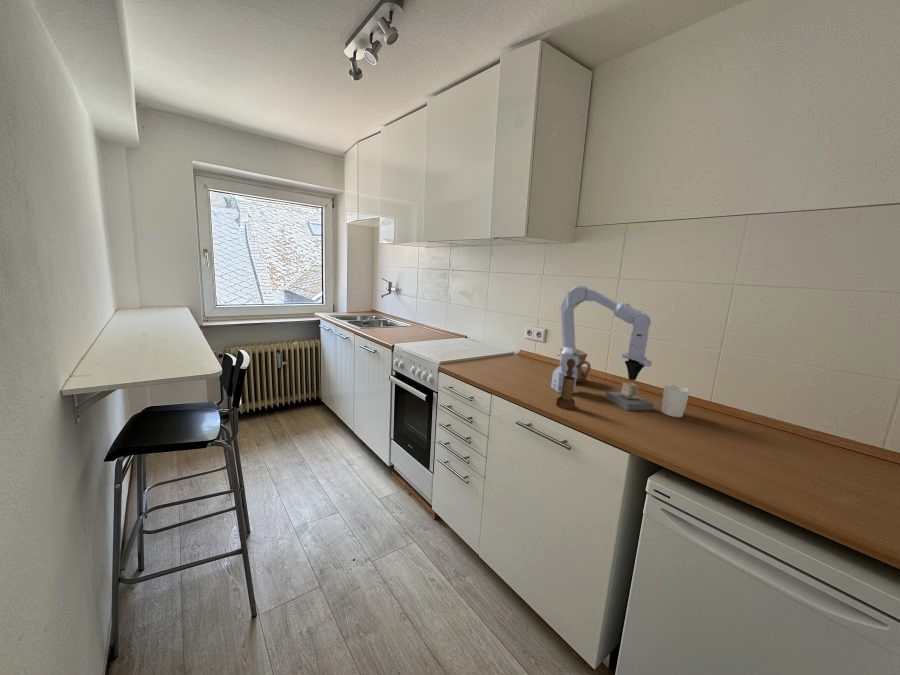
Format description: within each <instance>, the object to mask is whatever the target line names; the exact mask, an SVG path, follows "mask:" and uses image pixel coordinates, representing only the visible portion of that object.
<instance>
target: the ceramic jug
mask: <svg viewBox="0 0 900 675" xmlns="http://www.w3.org/2000/svg"><path fill="white" fill-rule="evenodd" d="M562 350H563V347H562V348H560V349H559V352H557V354H556V356H558V357H560V358H561V357H562ZM576 350H577V355H578V357H579V359H580V362H579V364H578V365H577V366H576V367H577V370H578V372H577V379H576V383H582V382H584V381H585V380H587V377H588V374H590V371H591V369H592V368H591V367H592V366H591V363H590V362H589V361H587V360H586V358H587V357H588V352H587V351H586V350H582V349H577V348H576ZM583 365H586V371H585V370H584V369H583V368H582V366H583ZM558 369H560V365H559V366H557V367H555V368H554V370H558Z"/></svg>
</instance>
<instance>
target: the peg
mask: <svg viewBox="0 0 900 675" xmlns="http://www.w3.org/2000/svg"><path fill="white" fill-rule="evenodd" d="M639 388H640V386H639V385H638V384H635V383H633V382H622V387H621V391H620V392H621V397H622V398H624V399H626V400H637V396H638V393H639Z"/></svg>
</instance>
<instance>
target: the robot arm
mask: <svg viewBox="0 0 900 675" xmlns="http://www.w3.org/2000/svg"><path fill="white" fill-rule="evenodd" d="M585 301H586V302H596V303H598V304H600V305H601V306H603V307H605V308H607V309H609V310H611V311H613V315H614V316H615V317H617V318H618V319H620V320H622V321H623V322H625V323H627V324H628V325H630V324H631V325H632V331H631V333H630V334H631V335H630V340H629V345H628V346H629V347H628V351H627V352H624V351H622V352H621V354H620V358H624V359H627V360H624V364H625V366H626V368H627V374H628V375H627V377H628V380H630V381H636V380H637V377H638V376H639V374H640V372H641V370H642V369H643V368H644V367H652V363H653V361H651V360H649V359H647V357H646V350H647V344H648V338H649V331H650V330H649V327H651V323H652V320H651V317H650V316H648V315H647V313H643V312H642V310H637V309H636V308H634V307H631V304H629V303H625V302H620V303H617V302H615V301H614V300H613V299H611V298H609V297H608V296H605V295H604V294H602V293H601V292H599V291H596V290H595V289H593V288H589V287H587V286H584V285H576V286H573V287H572V288H570V289H569V290H568V291H567V293H566V295H565V297H564V299H563V301H562V303H561V305H560V320H561V337H562V348H563V350H562V357H560V359H559V366H560V369H558V370H555V369H554V370H553V371H552V372H553V373H552V376H551V384H550V386H549V387H550V388H551V389H553V391H555V392H557V393H558V394H561V393H562V386H563V379H564V376H567V370H568V366H567V361H568V360H569V359H573V360H575V366H574V367H573V369H572V371H573V375H572V377H574V378H575V382H574V388H573V394H574V393H575V394H579V393H580V391H579V390H577V389H576V385H577V382H576V379H577V372H578V370H577V367H576V366H577V365H578V364H579V362H580V359H579V357H578V355H577V350H576V349H577V347H576V334H575V333H576V332H575V315H574V310H575V309H576V308H577V307H578V305H580V304H581V303H584V302H585Z"/></svg>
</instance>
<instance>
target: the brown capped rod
mask: <svg viewBox="0 0 900 675" xmlns="http://www.w3.org/2000/svg"><path fill="white" fill-rule="evenodd" d="M567 366H568V370H567V376H564V379H563V386H562V393H560V395H561V396H559V397H557V398H556V404H555V405H556V406H557V407H559V408H560V409H563V410H574V409H575V406H576V401H575V399H573V394H574V393H573V388H574V382H575V378H574V377H572V375H573V371H572V369H573V367H574V366H575V360H573V359H569V360H568V361H567Z"/></svg>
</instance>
